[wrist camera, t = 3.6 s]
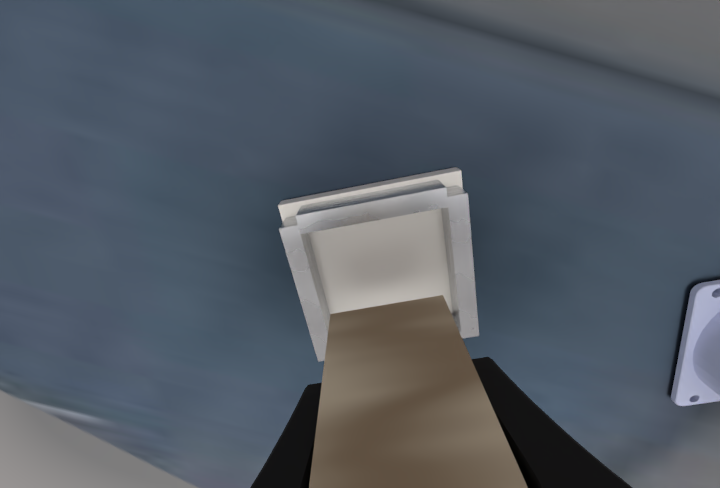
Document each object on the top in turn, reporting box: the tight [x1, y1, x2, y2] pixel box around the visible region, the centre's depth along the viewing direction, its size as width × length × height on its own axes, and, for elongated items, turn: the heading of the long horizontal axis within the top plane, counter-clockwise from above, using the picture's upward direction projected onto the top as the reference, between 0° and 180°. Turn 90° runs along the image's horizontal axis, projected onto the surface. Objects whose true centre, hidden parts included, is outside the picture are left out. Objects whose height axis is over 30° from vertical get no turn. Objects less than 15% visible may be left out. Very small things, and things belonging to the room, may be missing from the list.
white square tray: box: [279, 180, 479, 361], centre depth 16 cm, size 8×8×2 cm
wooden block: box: [309, 295, 528, 488], centre depth 8 cm, size 4×4×7 cm
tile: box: [278, 167, 463, 314], centre depth 17 cm, size 8×8×1 cm
